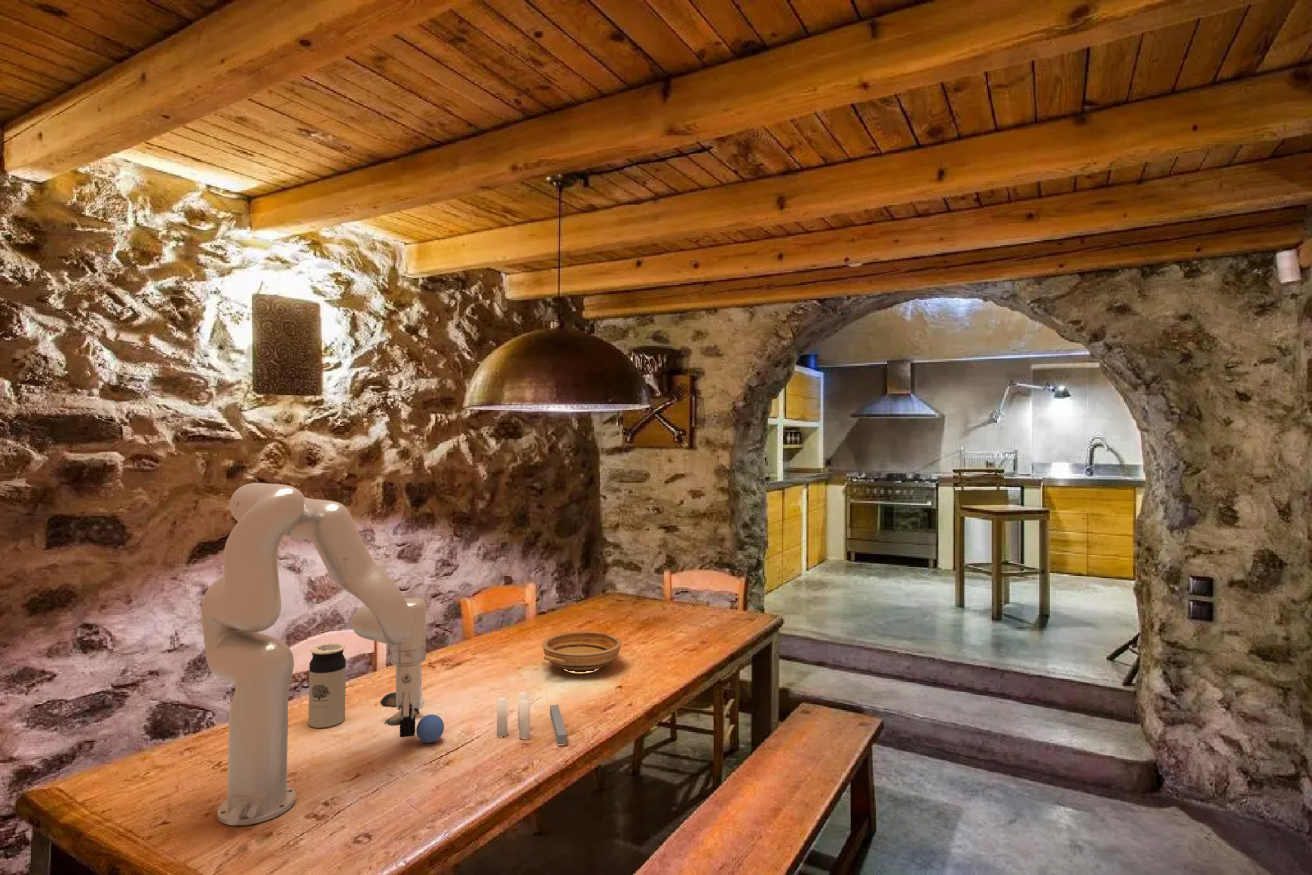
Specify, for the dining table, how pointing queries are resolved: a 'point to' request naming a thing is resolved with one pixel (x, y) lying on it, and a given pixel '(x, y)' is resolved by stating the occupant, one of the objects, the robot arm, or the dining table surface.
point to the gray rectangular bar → (558, 724)
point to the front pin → (502, 716)
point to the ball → (430, 728)
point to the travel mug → (327, 686)
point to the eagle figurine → (391, 702)
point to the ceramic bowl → (581, 650)
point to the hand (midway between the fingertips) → (407, 735)
